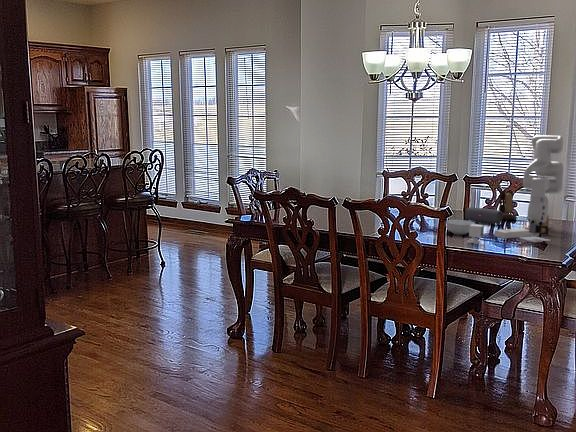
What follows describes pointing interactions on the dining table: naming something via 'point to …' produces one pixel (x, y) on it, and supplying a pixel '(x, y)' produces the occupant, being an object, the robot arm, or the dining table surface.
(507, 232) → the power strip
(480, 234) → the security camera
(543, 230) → the ammunition clip
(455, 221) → the cereal bowl
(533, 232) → the block
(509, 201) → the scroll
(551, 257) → the dining table surface
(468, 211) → the bluetooth speaker
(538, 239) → the felt pad
